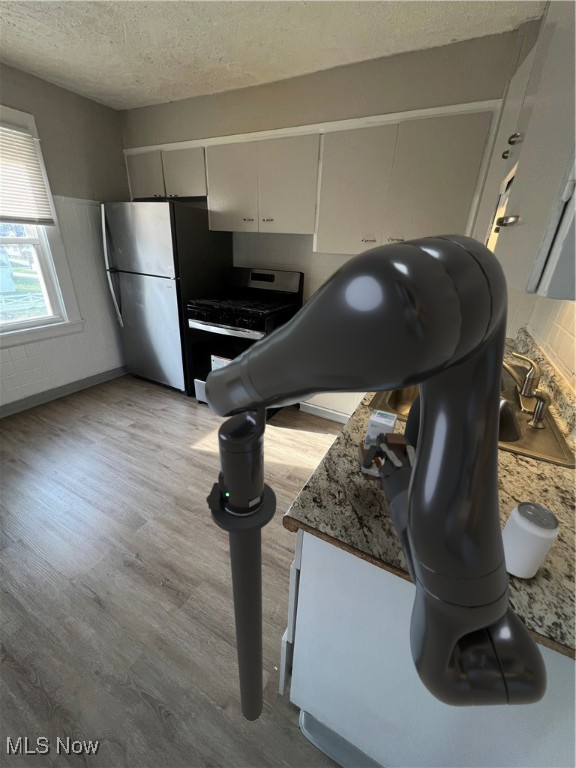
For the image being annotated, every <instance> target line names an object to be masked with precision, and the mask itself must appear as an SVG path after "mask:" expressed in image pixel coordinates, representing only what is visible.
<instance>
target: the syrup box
mask: <svg viewBox="0 0 576 768" xmlns="http://www.w3.org/2000/svg"><path fill="white" fill-rule="evenodd" d="M397 420H398V414H394V413H391V412H387V411H383V410H379V409H373V411H372V412H371V414H370V416H369V418H368V423H367V429H366V435H365V442H364V445H363V446H364V449H369V448H370V446H371V445H376V443H375V442H376V437H377V435H379V433H384V436H385V434H386V433H395V430H396V429H395V428H396V424H397Z"/></svg>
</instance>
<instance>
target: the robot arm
mask: <svg viewBox="0 0 576 768" xmlns="http://www.w3.org/2000/svg"><path fill="white" fill-rule="evenodd" d="M508 294H509V293H508V283H507V278H506V275H505V272H504V268H503V266H502V263H500V261H499V259H498V258H497V256H496V254H495V253H494V252H493V251H492V250H490V248H488V246H486V245H485V244H484V243H483V242H481V241H480V240H477V239H476V238H474V237H471V236H467V235H463V234H458V233H455V234H453V233H445V234H436V235H431V236H424V237H418V238H414V239H413V238H412V239H408V240H403V241H396V242H391V243H386V244H381V245H378V246H375V247H372V248H369V249H366V250H363V251H362V252H359V253H358V254H355V255H354V256H352V257H350V258H349V259H348V260H347V261H345V262H343V264H342V265H340V266H339V267H338V268H337V269H336V270H335V271H334V272H333V273H332V274H331V275H330V276H328V277H327V279H325V281H324V282H323V283H322V284H321V285H320V286H319V287H318V289H316V290H315V292H314V293H312V295H311V296H310V297H309V298H308V300H307V301H306V302H305V303H304V304H303V305H302V306H301V307H300V308H299V309H298V310H297V312H296V313H295V314H293V316H292V317H291V318H289V320H287V321H285V322H284V323H282V324H281V325H278V326H276V327H275V328H274V329H272V330H271V331H269V332H268V333H266V334H264V335H263V336H262V337H260V338H259V339H258V340H257V341H255V342H254V343H252V344H251V345H250V346H249V347H248V348H247V349H246V350H245V351H243V352H241V354H239V355H238V356H236V357H235V358H233V360H231V361H230V362H229V363H228V364H226V365H225V366H222V367H219V368H216V369H213V370H211V371H210V372H209V373H208V375H207V377H206V380H205V383H204V384H205V385H204V397H205V400H206V403H207V406H208V407H209V409H210V410H211V412H212V413H214V415H216V416H217V417H220V418H227V419H226V420H225V421H224V422H222V423H221V425H219V428H218V430H217V441H218V442H217V443H218V454H219V465H220V470H219V472H218V475H217V482H214V483H213V485H212V488H211V490H210V493H209V494H208V495H207V497H206V503H207V505H208V510H211V509H215V510H220V508H221V510H224V511H226V512H227V513H228V514H230V515H231V516H234V517H239V518H244V517H249V516H252V515H254V514H256V513H258V512H259V511H260V510H261V509H262V507H263V505H264V483H265V442H264V441H265V433H266V428H267V411H268V409H276V408H283V407H287V406H293V405H296V404H299V403H303V402H306V401H309V400H311V399H313V398H314V397H315V396H317V395H322V394H349V393H350V394H353V393H354V394H358V393H359V394H361V393H365V394H366V393H384V392H394V391H398V390H403V389H407V388H411V387H415V386H417V385H418V386H417V387H418V391H419V392H418V393H419V394H420V427H419V436H418V441H417V447H416V449H414V447H412V446H411V445H410V442H409V440H408V439H407V438H406V437H404V434H402V435H403V437H404V439H405V441H406V448H405V452H404V458H397V457H396V456H395V454H394V452H393V451H392V450H390V449H389V448H388V446H387V442H386V439H385V436H384V433H379V435H377V437H376V442H375V443H376V445H371V446H370V448H369V450H368V452H367V454H366V457H365V459H364V461H363V465H362V469H361V471H360V474H361V476H362V477H363V476H364V477H367V476H368V475H369V474H371V475H374V476H377V478H378V480H379V481H380V482H381V483H382V485H383V489H384V490H383V493H384V497H385V501H386V504H387V507H388V511H389V517H390V521H392V525H393V528H394V532H395V533H396V535H397V537H398V540H399V543H400V547H401V550H402V553H403V557H404V560H405V564H406V567H407V572H408V574H409V576H410V580H411V582H412V583H413V585H414V586H415V594H414V600H413V605H412V610H411V615H410V625H409V644H410V645H409V646H410V652H411V658H412V661H413V666H414V668H415V671H416V673H417V675H418V678H419V680H420V681H421V683H422V685H423V686H424V688H425V689H426V690H427V691H428V692H429V693H430V694H431V696H433V697H434V698H435V699H436V700H437V701H439V702H441V703H443V704H444V705H448V706H451V707H458V708H459V707H460V708H462V707H489V706H490V707H491V706H526V705H534V704H537V703H538V702H540V701H542V699H543V698H544V696H545V694H546V692H547V686H548V674H547V668H546V663H545V660H544V658H543V657H544V656H543V655H542V652H541V650H540V647H539V645H538V644H537V642H536V640H535V639H534V637H533V635H532V633H531V631H530V630H529V629H528V627H527V626H526V624H525V623H524V622H523V621H522V619H521V618H520V616H519V615H518V614H517V613H516V612H515V610H514V608H513V607H511V605H510V588H509V586H510V585H509V579H508V572H507V569H506V561H505V553H504V546H503V539H502V531H503V530H502V524H501V523H502V522H501V513H500V511H501V510H500V496H499V495H500V493H499V492H500V491H499V438H500V437H499V435H500V418H501V417H500V416H501V394H502V378H503V368H504V367H503V366H504V358H505V357H504V356H505V349H506V339H507V327H508V326H507V325H508V312H509V310H508V309H509V295H508ZM377 457H379V459H380V461H381V463H382V466H381V467H380V468H379V469H378V468H377V467H376V464H375V458H377Z"/></svg>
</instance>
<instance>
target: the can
mask: <svg viewBox="0 0 576 768" xmlns="http://www.w3.org/2000/svg"><path fill="white" fill-rule="evenodd" d="M559 527H560V520H559V518H558V517H557V516H556V515H555V513H553V512H552V511H551V510H549V509H548V508H546V507H545V506H543V505H540V504H539V503H537V502H536V503H535V502H532V501H521V502H519V503H518V504H517V506H514V508H512V510H511V512H510V514H509V516H508V518H507V520H506V522H505V524H504V526H503V529H502V530H501V531H502V539H503V546H504V553H505V561H506V569H507V574H510V575H512V576H514V577H516V578H520V579H531V578H533V577H535V576H536V574H537V573H538V571H539V569H540V567H541V565H542V564H543V562H544V560H545V559H546V557H547V555H548V554H549V551H550V550H551V548H552V546H553V545H554V543H555V541H556V539H557V537H558V535H559Z"/></svg>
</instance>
